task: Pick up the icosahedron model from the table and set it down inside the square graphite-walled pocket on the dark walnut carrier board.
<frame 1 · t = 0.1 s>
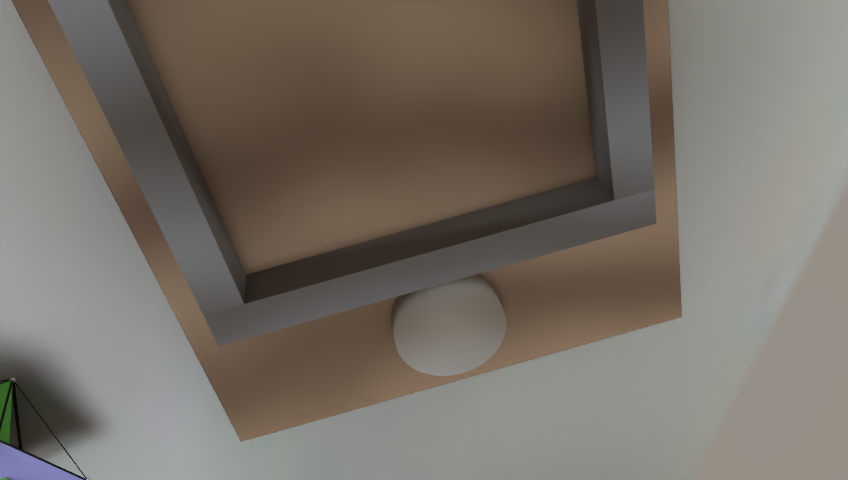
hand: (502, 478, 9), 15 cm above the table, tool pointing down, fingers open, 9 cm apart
carrier board: (398, 139, 22), on the table
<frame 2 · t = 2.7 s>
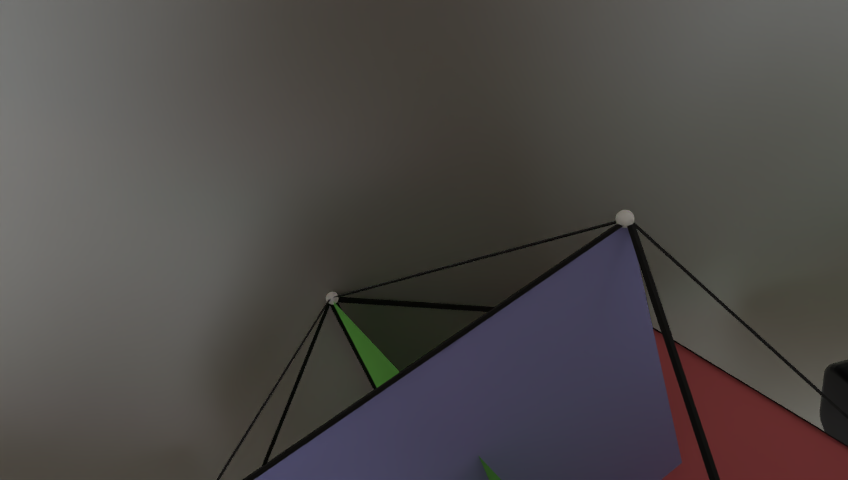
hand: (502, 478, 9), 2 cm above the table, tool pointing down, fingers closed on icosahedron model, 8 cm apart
icosahedron model: (466, 364, 11), on the table, touching gripper
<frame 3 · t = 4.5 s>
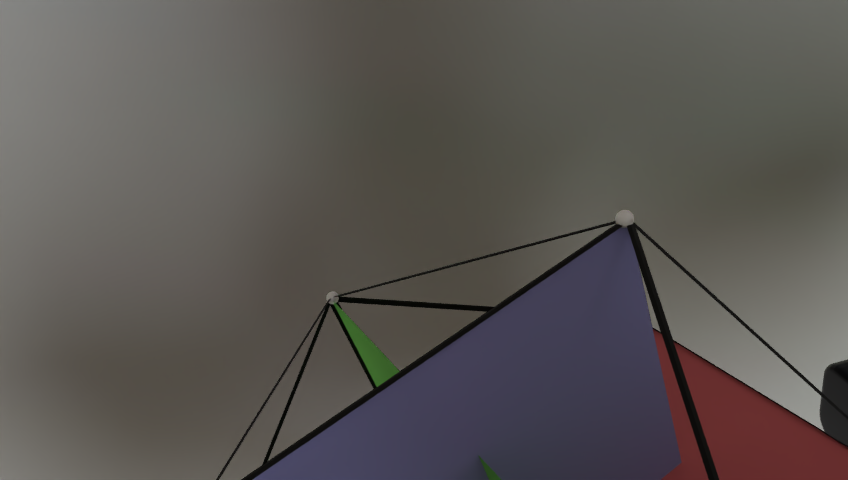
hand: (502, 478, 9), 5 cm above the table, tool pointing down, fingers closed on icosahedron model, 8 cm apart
icosahedron model: (466, 364, 11), point 3 cm above the table, touching gripper
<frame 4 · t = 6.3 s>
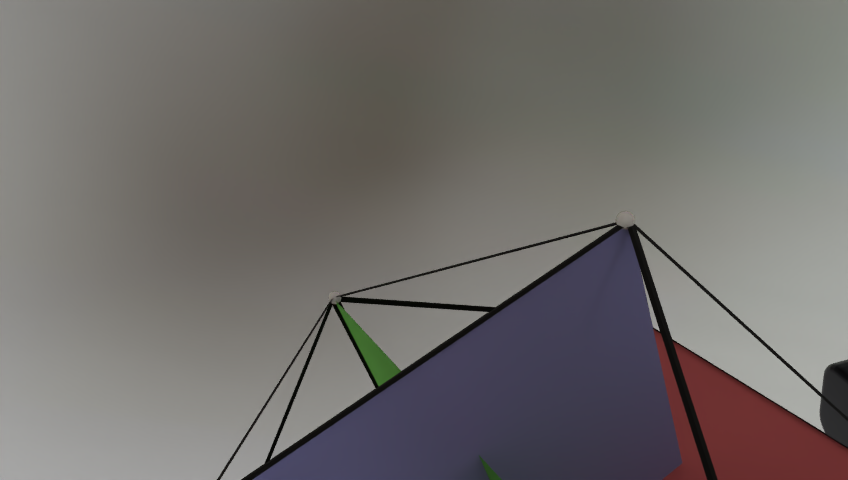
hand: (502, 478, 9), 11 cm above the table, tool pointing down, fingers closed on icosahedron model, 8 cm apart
icosahedron model: (468, 364, 11), point 9 cm above the table, touching gripper
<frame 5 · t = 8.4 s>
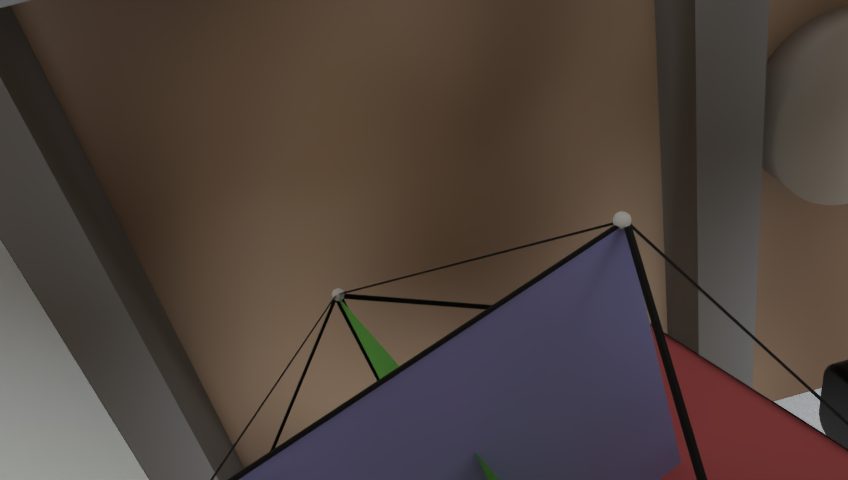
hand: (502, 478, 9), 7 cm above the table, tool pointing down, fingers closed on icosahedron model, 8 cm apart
icosahedron model: (471, 362, 11), point 5 cm above the table, touching gripper
carrier board: (520, 156, 15), on the table
when the fingers open (4 cm above the table, at t = 10.0 s): icosahedron model drops 1 cm, resting on carrier board.
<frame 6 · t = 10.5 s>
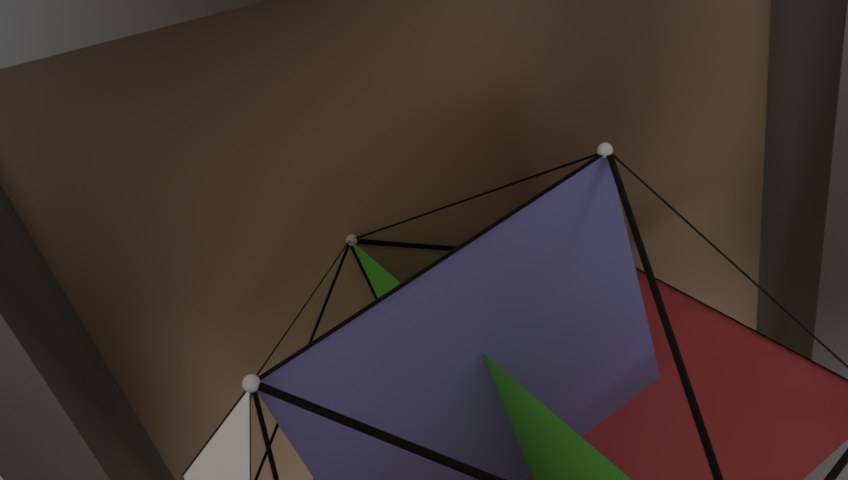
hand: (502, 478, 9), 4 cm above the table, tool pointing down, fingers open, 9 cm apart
icosahedron model: (470, 305, 12), point 1 cm above the table, touching carrier board
carrier board: (583, 239, 12), on the table
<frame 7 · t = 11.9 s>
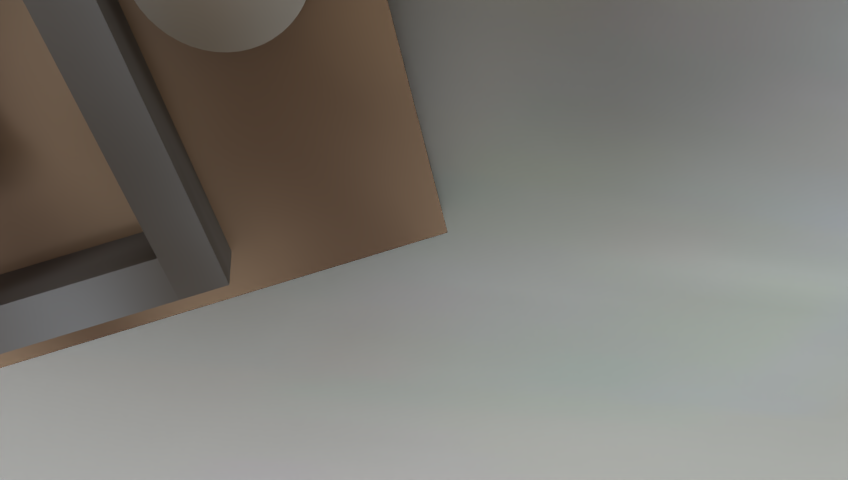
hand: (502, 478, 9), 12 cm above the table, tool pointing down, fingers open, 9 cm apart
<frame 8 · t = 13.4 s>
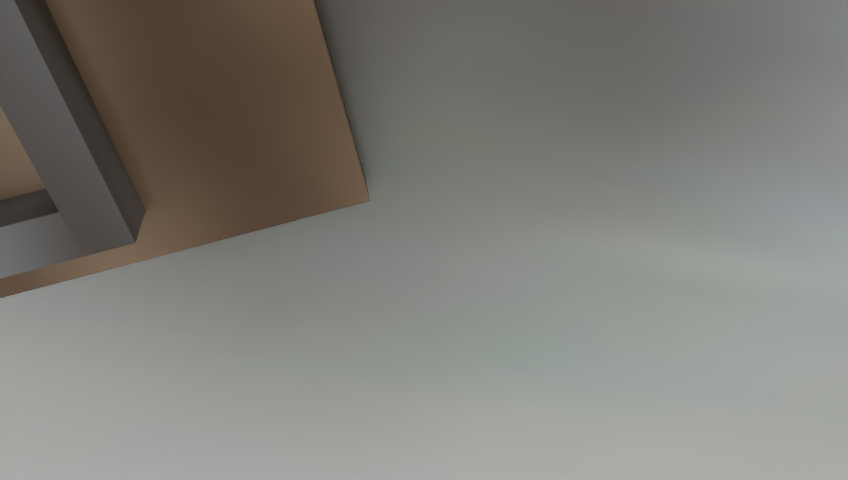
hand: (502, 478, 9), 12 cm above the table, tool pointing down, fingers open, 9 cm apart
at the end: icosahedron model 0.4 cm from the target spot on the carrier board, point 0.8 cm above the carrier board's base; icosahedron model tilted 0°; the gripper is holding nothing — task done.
